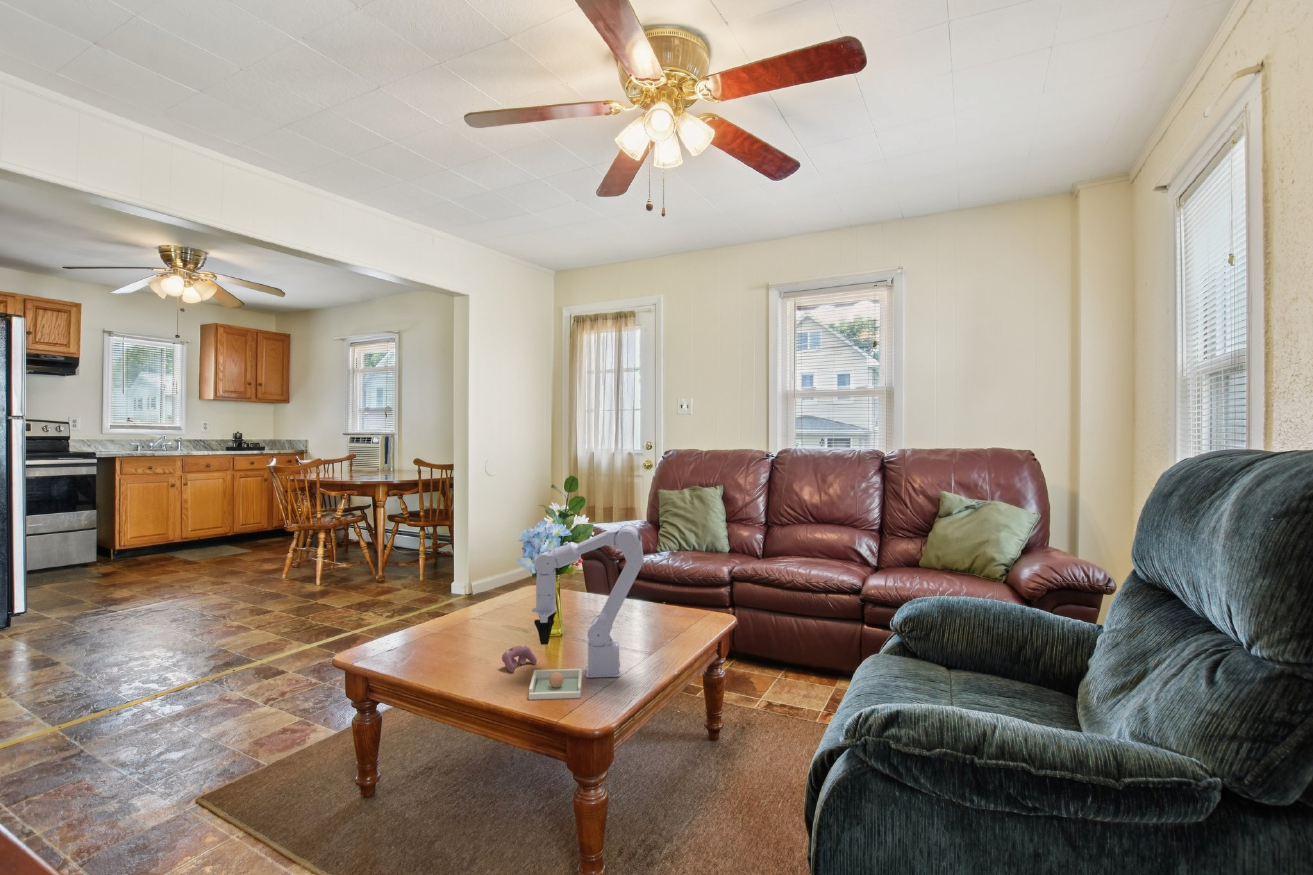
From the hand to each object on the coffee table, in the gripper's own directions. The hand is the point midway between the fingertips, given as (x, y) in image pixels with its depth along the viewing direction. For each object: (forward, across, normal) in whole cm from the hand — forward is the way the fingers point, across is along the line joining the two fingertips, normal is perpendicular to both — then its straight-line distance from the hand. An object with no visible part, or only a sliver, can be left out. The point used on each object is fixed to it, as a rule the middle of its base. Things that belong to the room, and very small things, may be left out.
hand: (545, 639), depth 179 cm
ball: (+9, +12, +4) cm, 16 cm away
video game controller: (+10, -4, -8) cm, 13 cm away
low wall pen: (+9, +12, +4) cm, 16 cm away
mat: (+9, +12, +4) cm, 16 cm away
